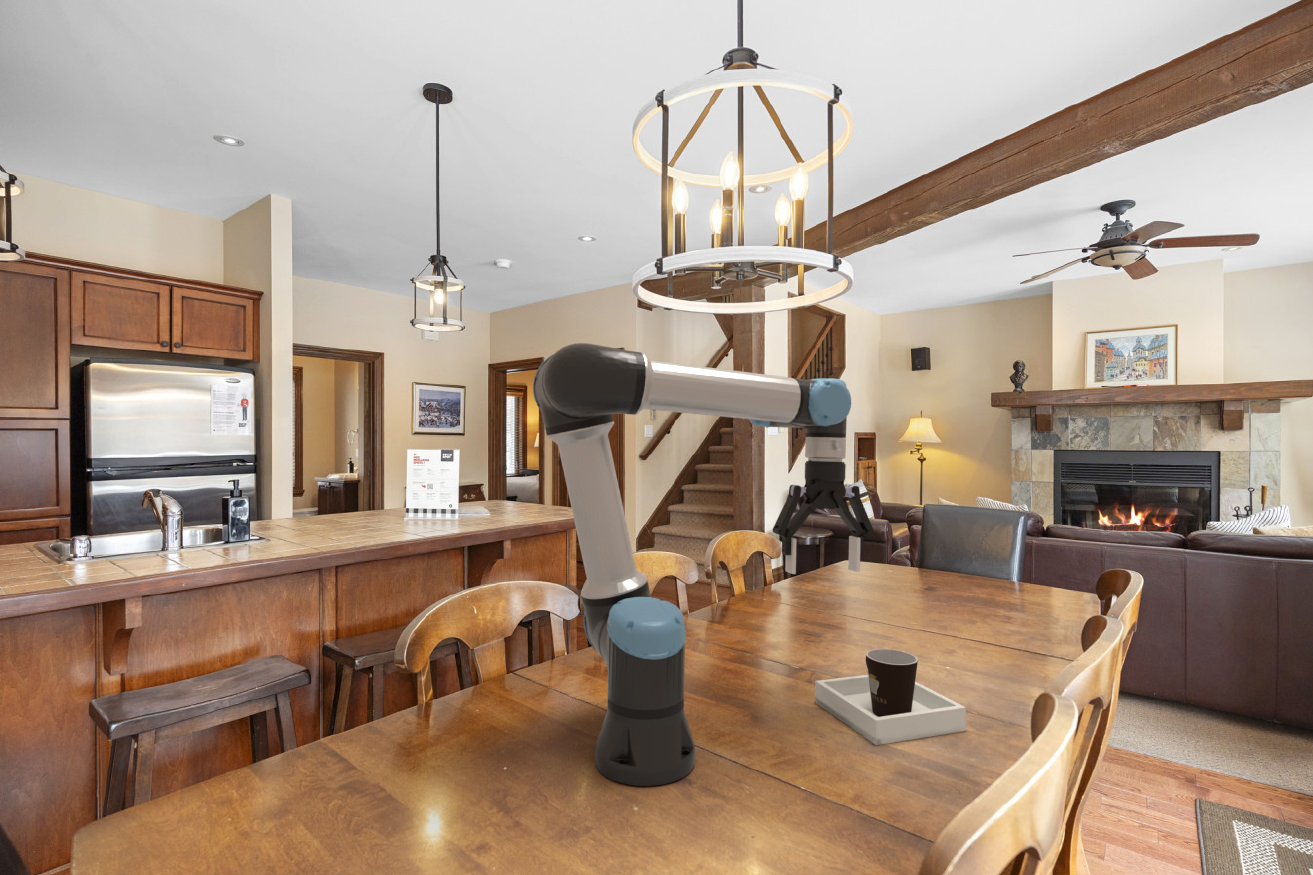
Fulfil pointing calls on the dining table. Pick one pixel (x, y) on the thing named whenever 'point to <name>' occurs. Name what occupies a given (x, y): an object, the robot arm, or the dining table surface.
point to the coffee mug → (891, 681)
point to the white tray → (855, 710)
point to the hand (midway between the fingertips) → (822, 571)
